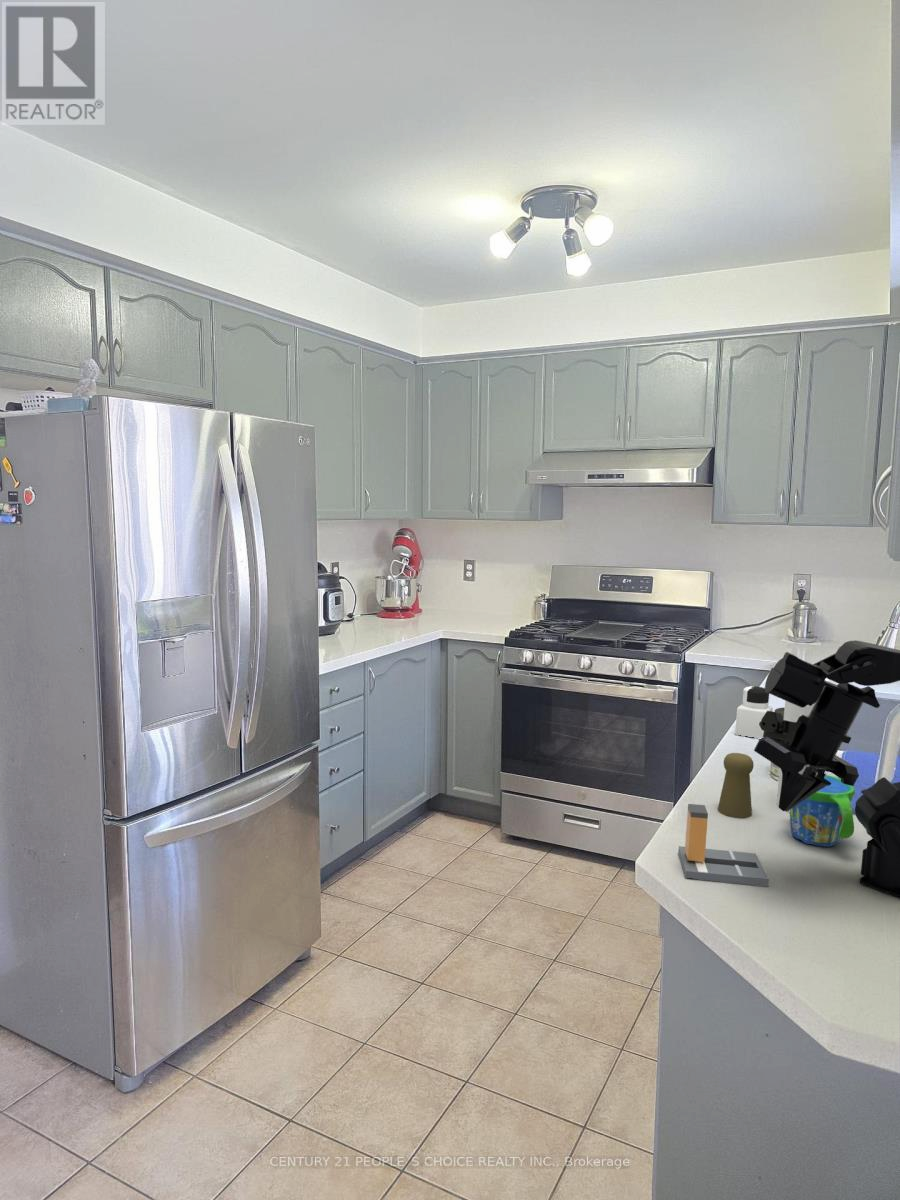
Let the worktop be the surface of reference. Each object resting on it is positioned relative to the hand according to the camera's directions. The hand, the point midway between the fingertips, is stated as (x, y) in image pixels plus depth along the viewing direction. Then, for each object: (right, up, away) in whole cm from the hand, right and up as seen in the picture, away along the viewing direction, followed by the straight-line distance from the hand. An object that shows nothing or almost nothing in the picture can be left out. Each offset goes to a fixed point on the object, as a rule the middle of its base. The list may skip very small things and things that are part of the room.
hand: (782, 809), depth 123 cm
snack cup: (+12, -9, +15) cm, 21 cm away
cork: (+2, -7, +26) cm, 28 cm away
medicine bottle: (+25, -2, +78) cm, 82 cm away
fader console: (-9, -10, +3) cm, 13 cm away
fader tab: (-13, -9, +3) cm, 16 cm away
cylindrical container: (+15, -7, +30) cm, 34 cm away
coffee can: (+22, -6, +46) cm, 51 cm away
